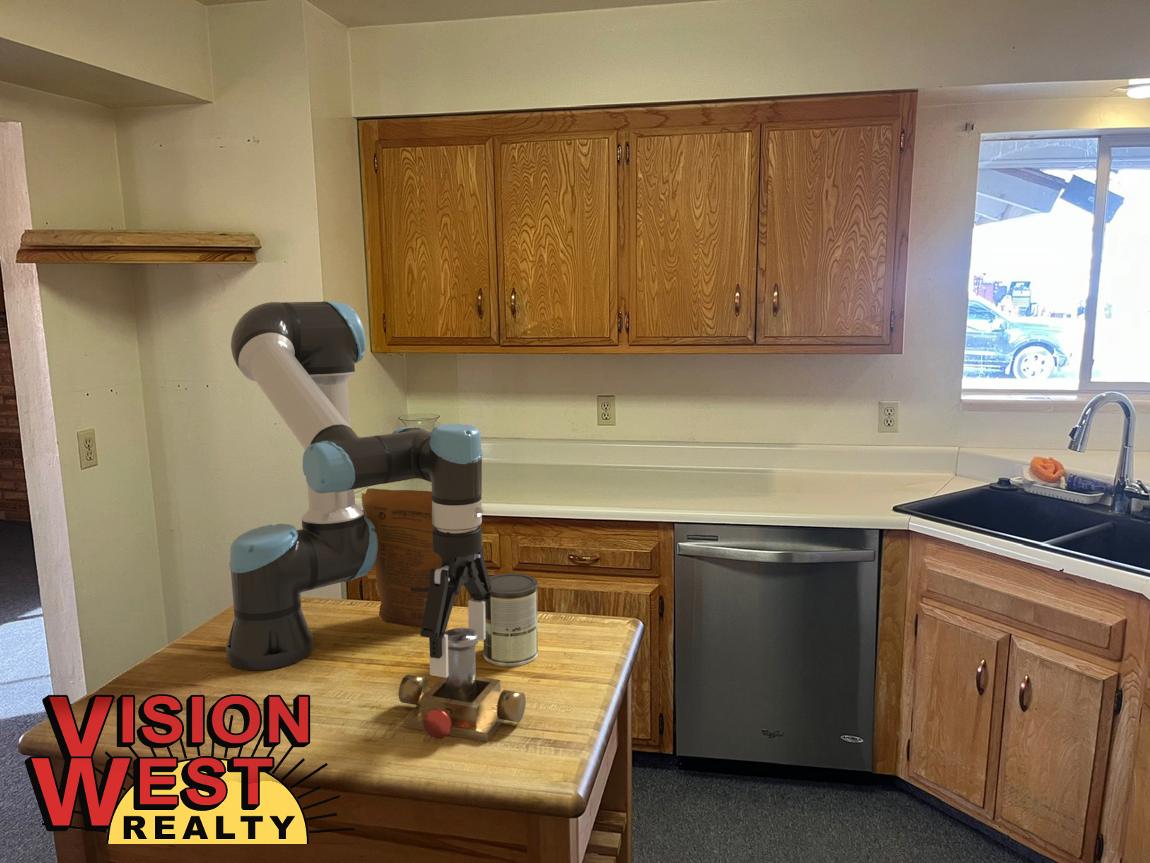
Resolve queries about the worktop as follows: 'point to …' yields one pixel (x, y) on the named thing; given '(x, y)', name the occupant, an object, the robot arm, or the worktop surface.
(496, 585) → the coffee can
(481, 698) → the valve body
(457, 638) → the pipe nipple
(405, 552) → the pancake mix bag
